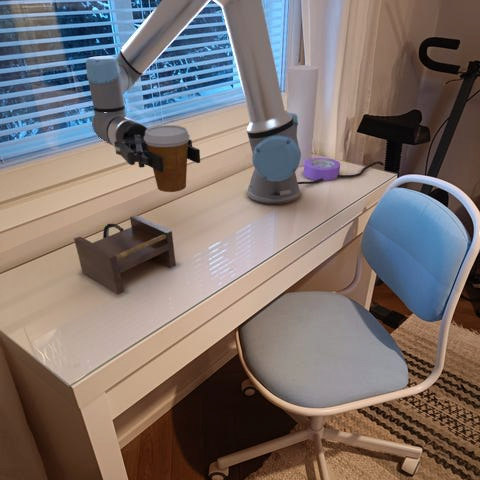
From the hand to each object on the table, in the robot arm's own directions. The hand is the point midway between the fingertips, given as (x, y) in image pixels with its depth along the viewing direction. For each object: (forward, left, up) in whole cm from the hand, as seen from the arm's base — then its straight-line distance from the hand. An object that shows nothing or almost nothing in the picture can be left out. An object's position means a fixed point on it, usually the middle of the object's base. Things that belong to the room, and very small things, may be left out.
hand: (180, 160), depth 93 cm
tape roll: (-66, -7, -22) cm, 70 cm away
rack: (+13, -5, -22) cm, 26 cm away
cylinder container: (-72, -21, -22) cm, 78 cm away
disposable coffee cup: (-1, -5, -7) cm, 9 cm away
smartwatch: (+8, -18, -22) cm, 30 cm away
